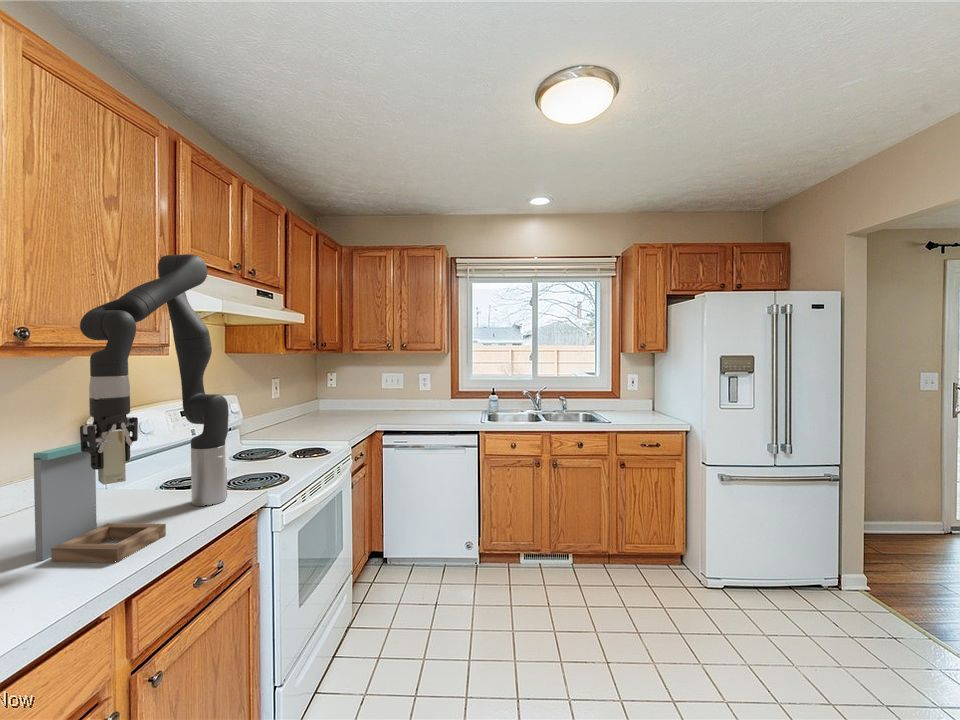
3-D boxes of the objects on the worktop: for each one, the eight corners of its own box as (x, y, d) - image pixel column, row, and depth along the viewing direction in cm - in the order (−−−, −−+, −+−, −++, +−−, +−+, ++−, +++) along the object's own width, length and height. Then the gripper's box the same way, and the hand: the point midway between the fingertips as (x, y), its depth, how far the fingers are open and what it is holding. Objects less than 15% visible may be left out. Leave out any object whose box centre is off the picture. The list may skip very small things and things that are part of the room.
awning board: (90, 535, 117) (88, 441, 117) (102, 535, 117) (101, 441, 117) (35, 560, 103) (33, 453, 103) (49, 560, 103) (47, 453, 103)
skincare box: (126, 481, 109) (125, 429, 109) (103, 485, 106) (102, 432, 106) (120, 476, 114) (119, 427, 113) (97, 480, 110) (96, 429, 110)
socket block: (108, 535, 118) (107, 523, 118) (165, 535, 117) (165, 523, 117) (51, 561, 103) (51, 548, 103) (117, 562, 102) (117, 549, 102)
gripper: (119, 392, 117) (120, 458, 117) (66, 398, 102) (68, 473, 103) (148, 392, 116) (149, 458, 117) (99, 398, 102) (101, 473, 102)
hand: (111, 464), depth 110 cm, fingers closed on skincare box, 7 cm apart
